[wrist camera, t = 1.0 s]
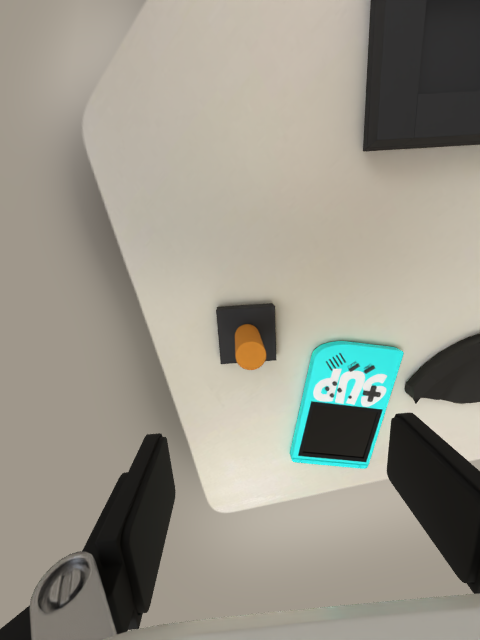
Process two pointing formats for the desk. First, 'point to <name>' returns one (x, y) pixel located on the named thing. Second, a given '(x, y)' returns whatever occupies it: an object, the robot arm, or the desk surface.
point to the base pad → (423, 74)
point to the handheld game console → (344, 403)
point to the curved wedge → (450, 374)
